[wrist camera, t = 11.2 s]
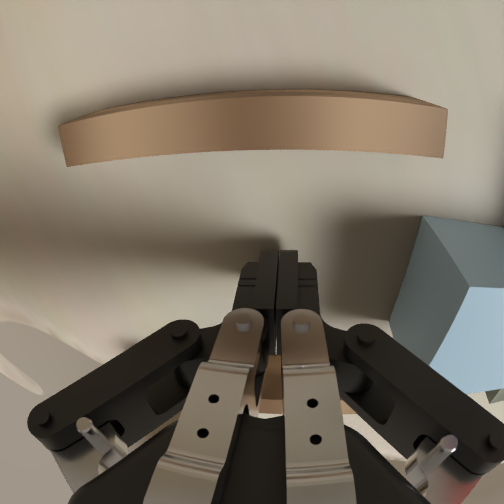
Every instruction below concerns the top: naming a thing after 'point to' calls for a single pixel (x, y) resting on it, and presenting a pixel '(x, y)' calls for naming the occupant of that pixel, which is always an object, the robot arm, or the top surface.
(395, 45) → the top surface
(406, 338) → the block
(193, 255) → the top surface
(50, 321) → the top surface
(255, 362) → the robot arm
